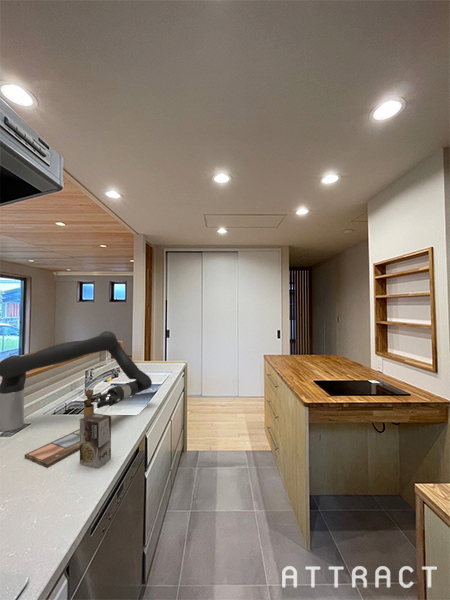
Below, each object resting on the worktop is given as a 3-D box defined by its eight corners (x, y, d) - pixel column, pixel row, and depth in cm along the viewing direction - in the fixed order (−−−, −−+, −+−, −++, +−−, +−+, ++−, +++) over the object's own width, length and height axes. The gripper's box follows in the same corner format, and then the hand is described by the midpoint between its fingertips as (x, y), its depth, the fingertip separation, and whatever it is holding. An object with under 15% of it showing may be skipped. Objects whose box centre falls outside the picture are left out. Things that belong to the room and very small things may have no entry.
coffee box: (111, 458, 99) (112, 415, 100) (98, 468, 93) (98, 422, 93) (92, 454, 102) (93, 412, 102) (78, 463, 96) (79, 419, 96)
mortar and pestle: (89, 434, 114) (90, 392, 114) (76, 433, 115) (77, 391, 116) (99, 427, 121) (100, 388, 121) (87, 426, 122) (87, 387, 122)
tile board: (24, 457, 100) (24, 453, 100) (88, 427, 124) (88, 424, 124) (47, 467, 94) (47, 462, 94) (109, 433, 118) (109, 430, 118)
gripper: (109, 384, 136) (80, 393, 122) (129, 387, 130) (102, 398, 116) (109, 398, 136) (80, 410, 122) (129, 402, 130) (102, 415, 116)
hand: (90, 404), depth 119 cm, fingers open, 8 cm apart
